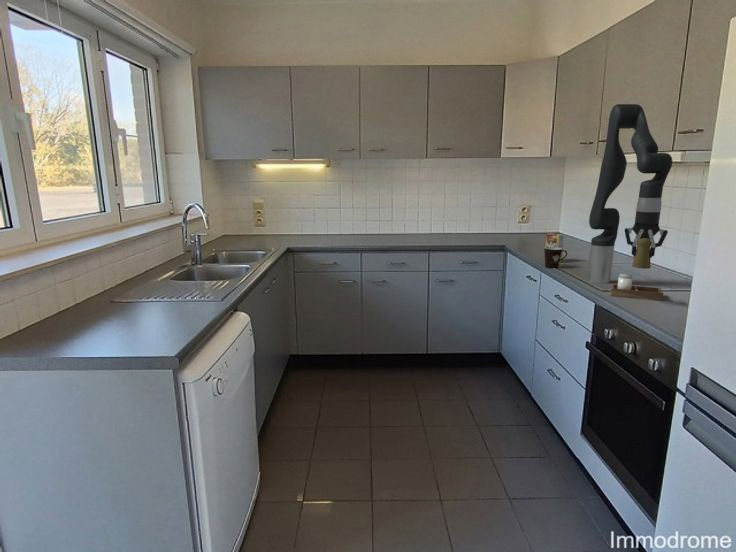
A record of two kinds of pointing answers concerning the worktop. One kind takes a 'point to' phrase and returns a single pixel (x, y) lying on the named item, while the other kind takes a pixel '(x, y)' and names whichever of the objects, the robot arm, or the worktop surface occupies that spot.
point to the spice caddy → (638, 293)
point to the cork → (642, 254)
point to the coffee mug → (553, 256)
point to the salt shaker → (625, 281)
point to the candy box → (555, 241)
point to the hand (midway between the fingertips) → (642, 256)
